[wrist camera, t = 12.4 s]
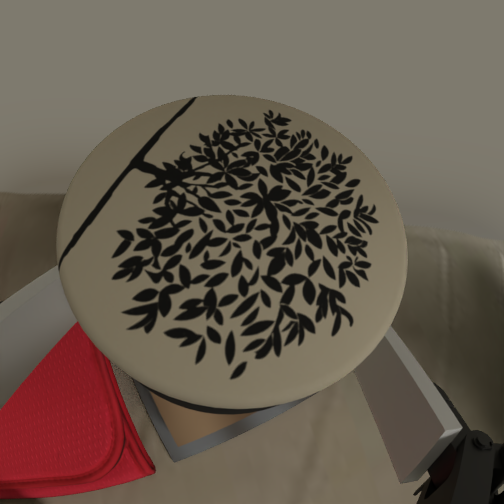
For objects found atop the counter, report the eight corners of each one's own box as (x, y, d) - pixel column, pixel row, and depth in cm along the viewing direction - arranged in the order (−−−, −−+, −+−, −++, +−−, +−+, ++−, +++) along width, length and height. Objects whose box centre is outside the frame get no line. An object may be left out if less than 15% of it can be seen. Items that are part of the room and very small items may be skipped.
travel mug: (286, 335, 23) (440, 182, 7) (232, 425, 19) (327, 501, 4) (198, 281, 24) (200, 61, 8) (138, 364, 20) (-18, 247, 5)
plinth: (246, 260, 30) (252, 239, 27) (319, 390, 25) (336, 387, 22) (109, 316, 25) (95, 302, 22) (174, 461, 21) (169, 471, 17)
